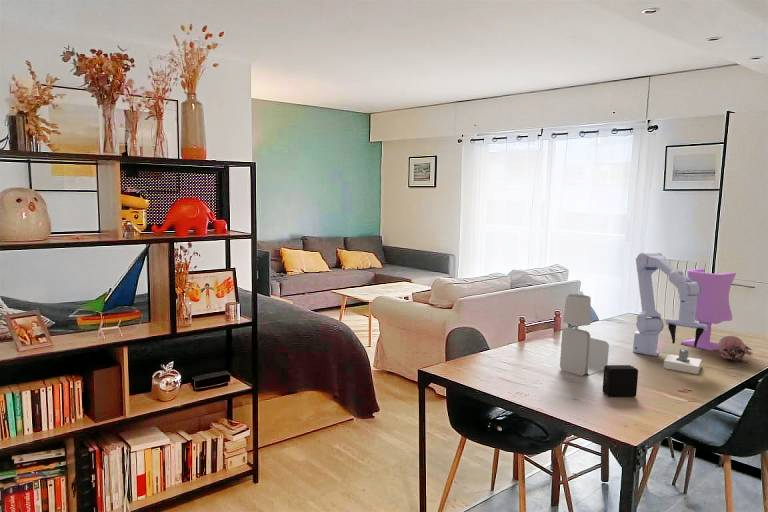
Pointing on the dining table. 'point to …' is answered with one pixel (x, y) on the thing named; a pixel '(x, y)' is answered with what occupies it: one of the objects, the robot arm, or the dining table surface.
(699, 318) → the pink table lamp
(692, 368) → the socket block
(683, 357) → the peg
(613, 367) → the electronic device
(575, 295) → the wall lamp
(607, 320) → the dining table surface
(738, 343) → the toy
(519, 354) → the dining table surface
